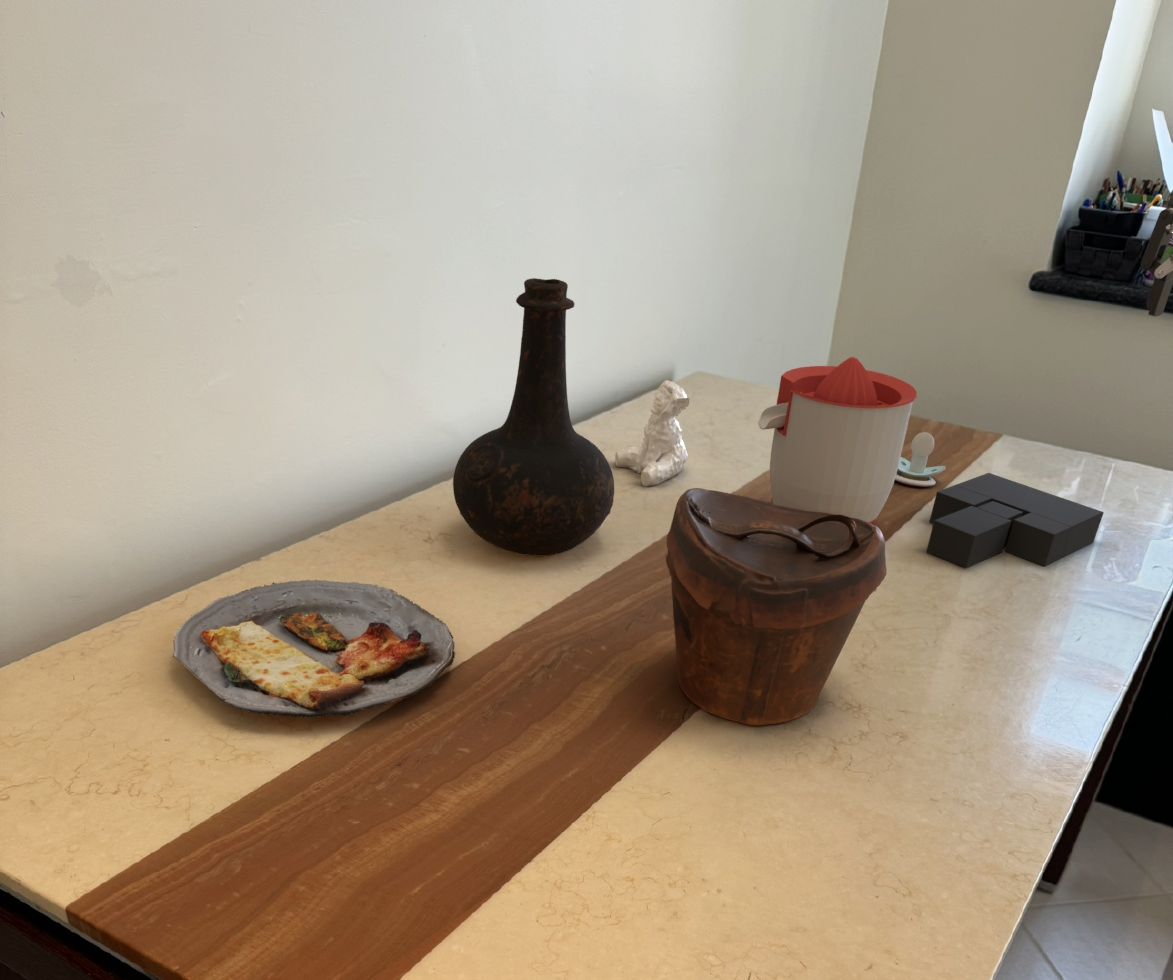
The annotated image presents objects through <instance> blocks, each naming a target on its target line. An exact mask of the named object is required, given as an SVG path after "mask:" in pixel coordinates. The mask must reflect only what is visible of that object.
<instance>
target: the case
mask: <svg viewBox="0 0 1173 980" xmlns="http://www.w3.org/2000/svg"><path fill="white" fill-rule="evenodd" d="M666 547H667V554H666V556H665V562H666V566H667V569H668V573H669V576H670V578H671V579H670V580H671V581H670V582H671V597H672V598H671V599H672V613H673V615H672V616H673V627H674V628H673V629H674V639H675V640H674V642H675V654H676V669H677V670H676V671H677V680H678V684H679V686H680V688H681V690H682V692H683V694H684V695H685V696H686V697H687V698H688V699H689V700H690V701H691V702H692V703H693V704H695V706H698V707H699V708H701V709H703V710H704V711H706V712H708V713H710V714H712V715H715V716H718V717H720V718H724V719H727V720H730V721H734V722H738V723H741V724H745V725H750V726H765V725H775V724H783V723H787V722H790V721H793V720H795V719H798V718H801V717H803V716H805V715H806V714H808V713H810V712H811V711H812V710H813V709H814V708H815V706H816V705H817V703H818V701H819V699H820V698H819V697H820V695H821V693H822V691H823V689H824V687H825V685H826V683H827V681H828V679H829V678H830V675H831V673H832V670H833V668H834V666H835V665H836V662H837V660H838V658H839V656H840V654H841V653H842V651H843V648H844V647H845V644H846V642H847V640H848V638H849V636H850V634H851V632H852V630H853V627H854V626H855V624H856V622H857V619H858V617H859V615H860V613H861V611H862V609H863V607H864V605H865V603H866V601H868V599H869V597H870V596H871V595H872V594H873V593H874V592H875V591H876V590H877V589H878V588H879V586H880V585H881V584H882V582H883V581H884V580H885V579H886V576H887V570H888V569H887V561H886V560H887V559H886V540H885V537H884V535H883V533H882V531H881V530H880V528H879V527H877V525H875V524H873V525H872V524H870V523H868V522H866V521H863V520H860V519H857V518H851V517H848V516H844V515H839V514H837V515H836V514H830V513H824V512H814V511H805V510H800V509H795V508H790V507H785V506H778V505H774V504H772V503H769V502H765V501H762V500H758V499H756V498H755V499H754V498H752V497H749V496H743V495H739V494H734V493H728V492H724V491H719V490H712V489H705V488H702V487H701V488H700V487H694V488H689V489H687V490H685V491H684V492H683V493H682V494H681V495H680V496H679V498H678V500H677V502H676V505H675V508H674V511H673V516H672V520H671V524H670V528H669V531H668V532H667V535H666Z"/></svg>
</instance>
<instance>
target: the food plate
mask: <svg viewBox="0 0 1173 980" xmlns="http://www.w3.org/2000/svg"><path fill="white" fill-rule="evenodd" d="M190 615H191V616H190V617H188V619H185V620H184V622H183V623H182V624H181V625H180V626H179V628H178V629H177V630H176V632H175V635H174V637H173V640H172V643H173V654H172V657H173V658H175V659H176V660H177V661H178V663H180V664H181V665H182V666H183V667H185V668H186V669H187V671H188V672H190V673H191V675H192V676H194V677H195V678H196V679H197V680H198V681H199V682H200V683H201V684H204V685H205V687H206V688H208V690H210V691H211V692H213V693H214V694H215V695H216V696H217V697H218V698H219V699H220V700H221V701H223V702H225V703H226V704H229V705H231V706H233V707H235V708H236V709H239V710H244V711H245V712H249V713H253V714H254V713H255V714H259V715H267V716H270V715H273V716H283V717H285V716H287V717H294V718H297V717H299V718H304V719H305V718H308V719H310V718H314V719H315V718H321V717H326V716H327V717H329V716H332V717H333V716H337V717H340V716H343V717H344V716H346V715H347V716H348V715H350V714H355V713H358V712H361V711H366V710H370V709H373V708H376V707H379V706H384V705H386V704H390V703H393V702H396V701H398V700H403V699H408V698H413V697H414V695H417V694H418V693H419V694H420V693H422V691H424V690H426V689H428V688H429V687H430V686H431V685H432V684H434V683H435V682H436V681H437V679H438V678H439V677H440V675H441V674H442V673H443V672H445V670H446V669H448V668H449V667H451V666H452V665H453V663H454V660H455V658H456V651H455V641H454V636H453V634H452V632H451V631H450V628H449V626H448V625H447V623H445V622H444V621H443V620H442V619H440V618H438V617H436V616H435V615H434V614H432V613H430V612H429V611H428V610H426V609H424V608H423V607H421V606H420V605H418V604H417V603H415V602H414V601H412V600H410V599H408V598H407V597H406V596H405V595H404V596H403V595H402V594H398V591H395V590H393V588H392V589H391V588H386V587H384V586H380V585H377V584H372V583H361V582H358V581H351V582H347V581H344V582H343V581H332V580H327V579H324V580H320V579H313V580H310V579H305V580H304V579H302V580H290V581H286V582H285V581H284V582H275V581H273V582H271V583H270V584H264V585H263V586H261V585H257V586H254V587H250V588H249V589H245V590H242V591H240V592H237V593H234V594H231V595H229V594H227V595H226V596H224V597H219V598H216V599H215V600H213V601H212V602H210V603H209V604H208V605H206V606H205V607H203V608H202V609H200V610H199V611H197V612H195V613H193V614H190Z"/></svg>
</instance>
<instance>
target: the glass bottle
mask: <svg viewBox="0 0 1173 980" xmlns="http://www.w3.org/2000/svg"><path fill="white" fill-rule="evenodd" d="M523 286H524V292H522V293H520V294H519V295H518V296H517V297H516V300H515V302H516V304H517V305H518V306H519V307H521V308H523V316H522V317H523V318H522V331H521V339H520V340H521V341H520V352H519V360H518V369H517V374H516V381H515V387H514V392H513V397H512V401H511V405H510V407H509V411H508V415H507V417H506V419H505V421H504V422H503V424H502V425H501V426H499V427H498V428H495V429H493V430H490V431H487V432H486V433H484V434H482V435H480V436H479V437H476V438H475V439H474V440H473V441H471V443H469V444H468V445H467V447H466V448H465V449H464V450H463V451H462V453H461V454H460V456H459V458H458V460H457V463H456V465H455V468H454V472H453V477H452V489H453V496H454V501H455V504H456V507H457V509H458V511H459V515H460V516H461V517H462V518H463V520H464V521H465V523H466V524H467V525H468V526H469V528H470V529H471V530H472V531H473V532H474V534H476V535H477V536H479V537H480V538H481V539H482V540H484V541H485V542H487V543H488V544H491V545H493V546H495V547H498V548H499V549H502V550H505V551H507V552H512V553H515V554H519V555H525V556H535V557H545V556H546V557H548V556H553V555H559V554H563V553H565V552H569V551H571V550H573V549H574V548H576V547H578V546H580V545H582V544H583V543H584V542H586V540H588V539H590V538H591V537H592V536H593V535H594V534H595V533H596V532H597V531H598V530H599V528H600V527H601V526H602V525H603V523H604V521H605V520H606V519H607V517H608V515H610V514H611V511H612V507H613V505H614V501H615V500H614V497H615V479H614V473H613V470H612V467H611V465H610V463H609V461H608V459H607V458H606V455H604V453H603V452H602V451H601V449H599V447H597V445H595V443H593V442H592V441H590V440H589V439H587V438H586V437H584V436H583V435H581V434H579V433H578V432H577V431H575V429H574V427H573V424H572V421H571V416H570V409H569V400H568V399H569V398H568V388H567V387H568V386H567V361H566V360H567V349H566V348H567V347H566V346H567V343H566V339H567V337H566V334H567V333H566V330H567V329H566V326H567V325H566V324H567V323H566V322H567V320H566V319H567V310H571V309H573V308H575V303H576V302H575V301H574V300H572V299H571V298H569V297H567V296H568V295H567V294H568V288H569V285H568V283H567V282H566V281H564V280H560V279H557V278H549V279H544V278H535V277H532V278H528V279H525V280H524V281H523Z"/></svg>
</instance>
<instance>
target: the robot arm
mask: <svg viewBox="0 0 1173 980" xmlns="http://www.w3.org/2000/svg"><path fill="white" fill-rule="evenodd" d="M1172 236H1173V207H1172V208H1166V209H1163V210H1161V211H1159V214H1158V216H1157V219H1156V222H1155V225H1154V227H1153V229H1152V231H1151V235H1150V238H1149V240H1148V243H1147V246H1146V248H1145V251H1144V254H1143V256H1142V258H1141V261H1140V267H1141V269H1143V270H1147V271H1148V272H1149V273H1151V274H1152V275H1153V282H1152V286H1151V289H1150V291H1149V295H1148V298H1147V301H1146V309H1147V310H1148V313H1147V314H1148V316H1150V317H1159V316H1162V314H1163V313H1164V311H1165V308H1166V305H1167V302H1168V299H1169V296H1170V293H1171V290H1172V287H1173V253H1171V254H1170V256H1169V257H1168V258H1167V259H1166V260H1164V256H1165V255H1166V252H1167V249H1168V246H1169V245H1170V242H1171V240H1172Z"/></svg>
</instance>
